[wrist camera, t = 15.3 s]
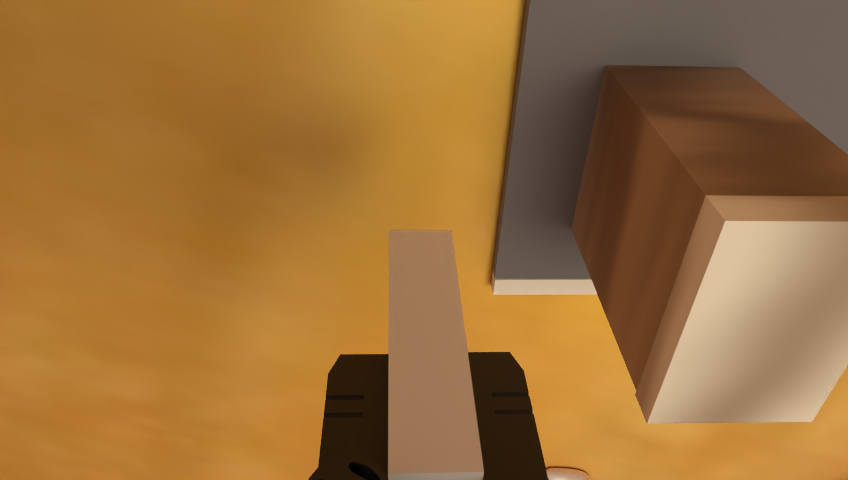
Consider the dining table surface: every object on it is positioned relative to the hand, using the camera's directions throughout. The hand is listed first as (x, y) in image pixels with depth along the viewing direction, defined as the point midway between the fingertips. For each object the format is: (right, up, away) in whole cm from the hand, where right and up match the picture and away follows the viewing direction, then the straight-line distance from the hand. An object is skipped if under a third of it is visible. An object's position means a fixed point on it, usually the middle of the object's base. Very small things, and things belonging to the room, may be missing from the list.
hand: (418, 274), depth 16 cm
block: (+8, +4, +7) cm, 11 cm away
